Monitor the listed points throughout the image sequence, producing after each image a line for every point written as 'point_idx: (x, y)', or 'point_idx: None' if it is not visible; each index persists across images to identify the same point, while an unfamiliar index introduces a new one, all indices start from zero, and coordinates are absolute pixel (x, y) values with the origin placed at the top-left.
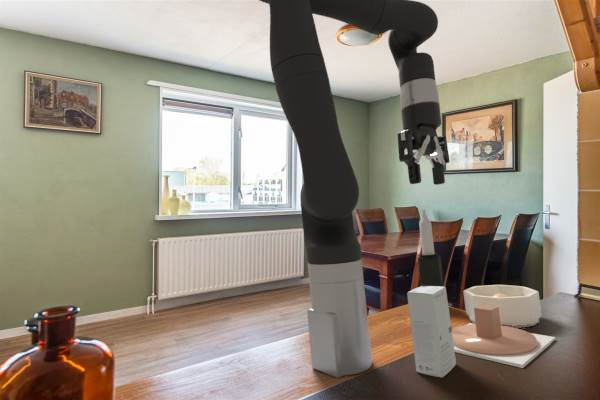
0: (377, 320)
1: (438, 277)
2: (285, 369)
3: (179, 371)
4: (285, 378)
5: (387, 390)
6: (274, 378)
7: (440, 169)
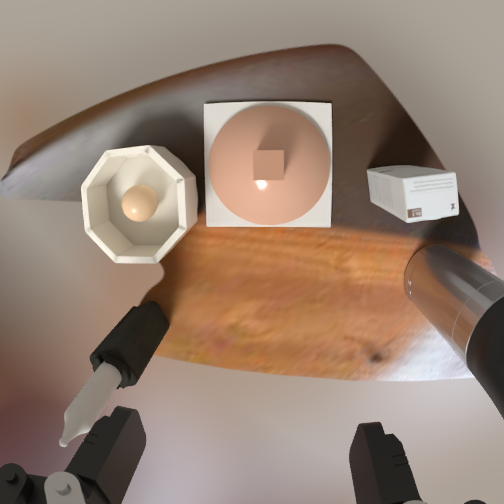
0: (267, 352)
1: (133, 329)
2: None
3: None
4: None
5: None
6: None
7: (108, 469)
